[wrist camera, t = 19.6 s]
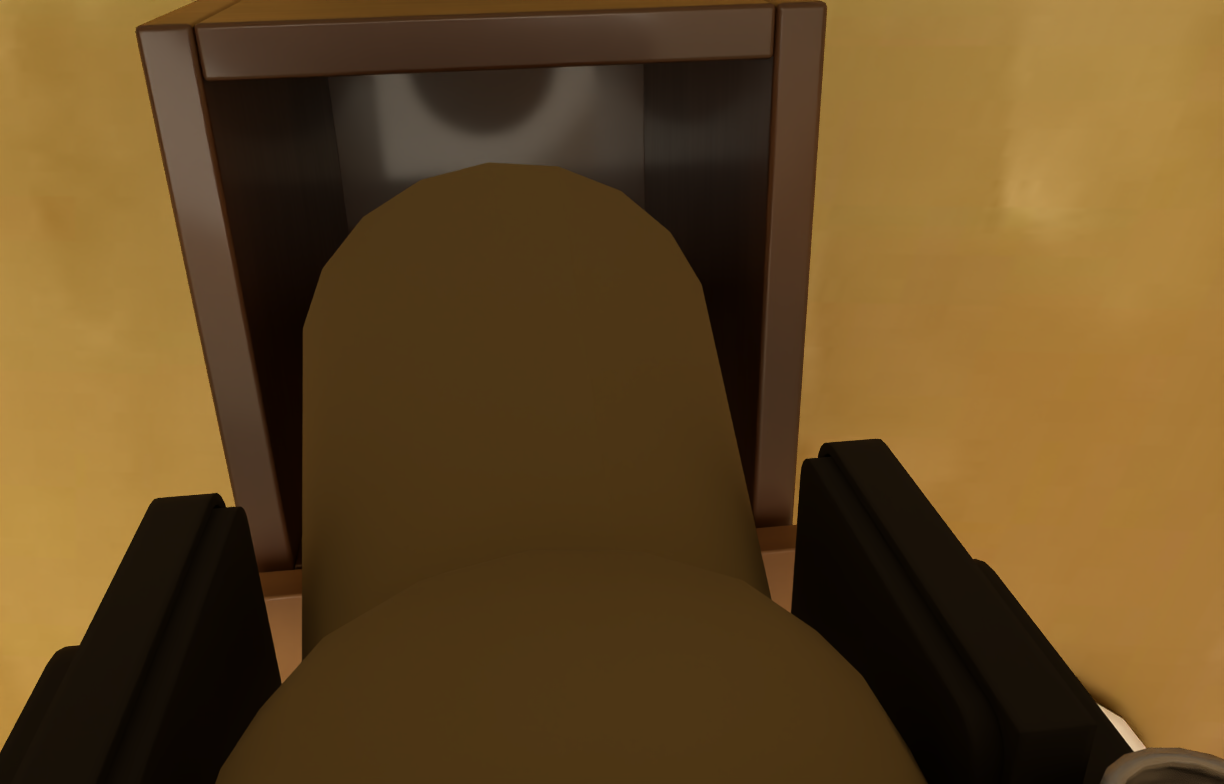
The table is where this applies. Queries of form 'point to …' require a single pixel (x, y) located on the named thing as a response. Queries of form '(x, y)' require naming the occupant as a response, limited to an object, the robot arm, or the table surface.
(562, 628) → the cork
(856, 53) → the table surface
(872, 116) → the table surface
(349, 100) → the chest
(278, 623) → the wooden lid
